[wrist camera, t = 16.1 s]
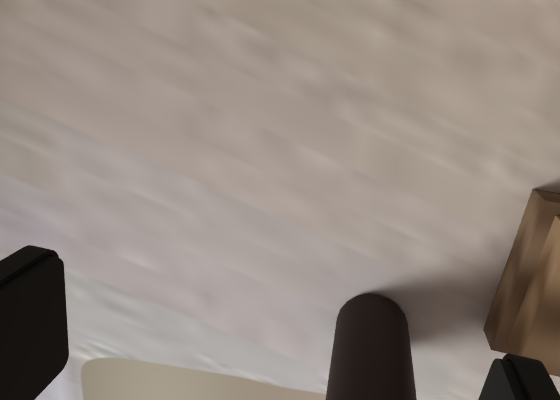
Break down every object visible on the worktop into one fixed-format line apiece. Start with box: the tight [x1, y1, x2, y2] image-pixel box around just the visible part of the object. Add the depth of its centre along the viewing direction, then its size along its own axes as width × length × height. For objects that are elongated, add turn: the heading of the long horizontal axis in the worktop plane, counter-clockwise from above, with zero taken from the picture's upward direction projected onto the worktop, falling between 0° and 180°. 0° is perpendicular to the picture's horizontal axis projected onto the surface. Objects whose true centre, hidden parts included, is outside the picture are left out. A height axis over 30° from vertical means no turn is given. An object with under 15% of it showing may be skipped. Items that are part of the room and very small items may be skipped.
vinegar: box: [326, 294, 417, 400], centre depth 34 cm, size 7×7×20 cm
